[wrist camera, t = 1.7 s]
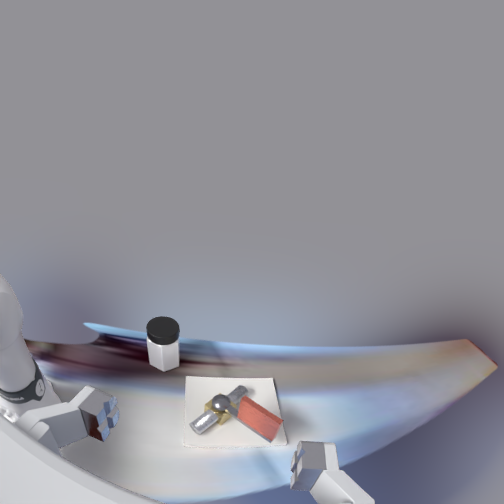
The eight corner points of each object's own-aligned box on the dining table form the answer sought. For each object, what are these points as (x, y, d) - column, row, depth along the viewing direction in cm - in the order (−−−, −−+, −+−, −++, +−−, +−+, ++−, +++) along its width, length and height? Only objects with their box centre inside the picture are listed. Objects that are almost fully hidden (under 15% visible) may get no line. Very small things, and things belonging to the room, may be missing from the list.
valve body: (203, 439, 50) (203, 432, 49) (186, 425, 53) (186, 417, 51) (250, 400, 62) (252, 391, 61) (234, 388, 65) (235, 380, 63)
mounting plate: (183, 446, 48) (183, 444, 48) (186, 378, 66) (186, 375, 66) (286, 445, 52) (287, 443, 52) (271, 380, 70) (272, 378, 69)
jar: (187, 357, 73) (187, 324, 68) (170, 376, 66) (168, 343, 61) (160, 344, 75) (158, 311, 70) (143, 361, 68) (138, 327, 63)
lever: (207, 404, 55) (209, 382, 52) (220, 394, 58) (222, 372, 55) (267, 447, 47) (275, 429, 44) (278, 435, 50) (287, 415, 47)
